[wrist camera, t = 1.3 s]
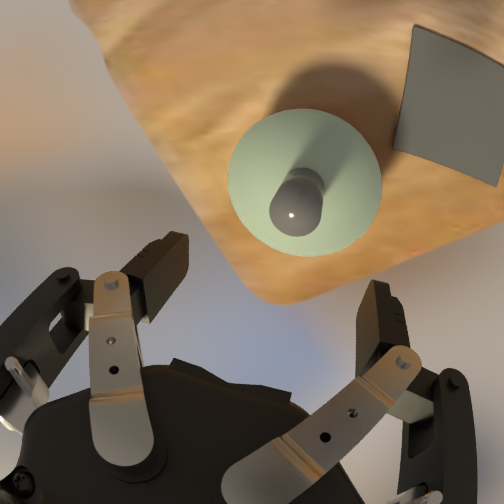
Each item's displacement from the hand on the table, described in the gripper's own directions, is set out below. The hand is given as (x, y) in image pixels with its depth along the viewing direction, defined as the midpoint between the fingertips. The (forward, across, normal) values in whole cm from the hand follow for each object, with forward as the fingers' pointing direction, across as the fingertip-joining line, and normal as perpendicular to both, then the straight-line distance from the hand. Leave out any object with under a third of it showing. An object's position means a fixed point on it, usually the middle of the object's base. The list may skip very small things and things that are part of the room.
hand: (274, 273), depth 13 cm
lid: (+12, 0, 0) cm, 13 cm away
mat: (+17, -13, -10) cm, 24 cm away
